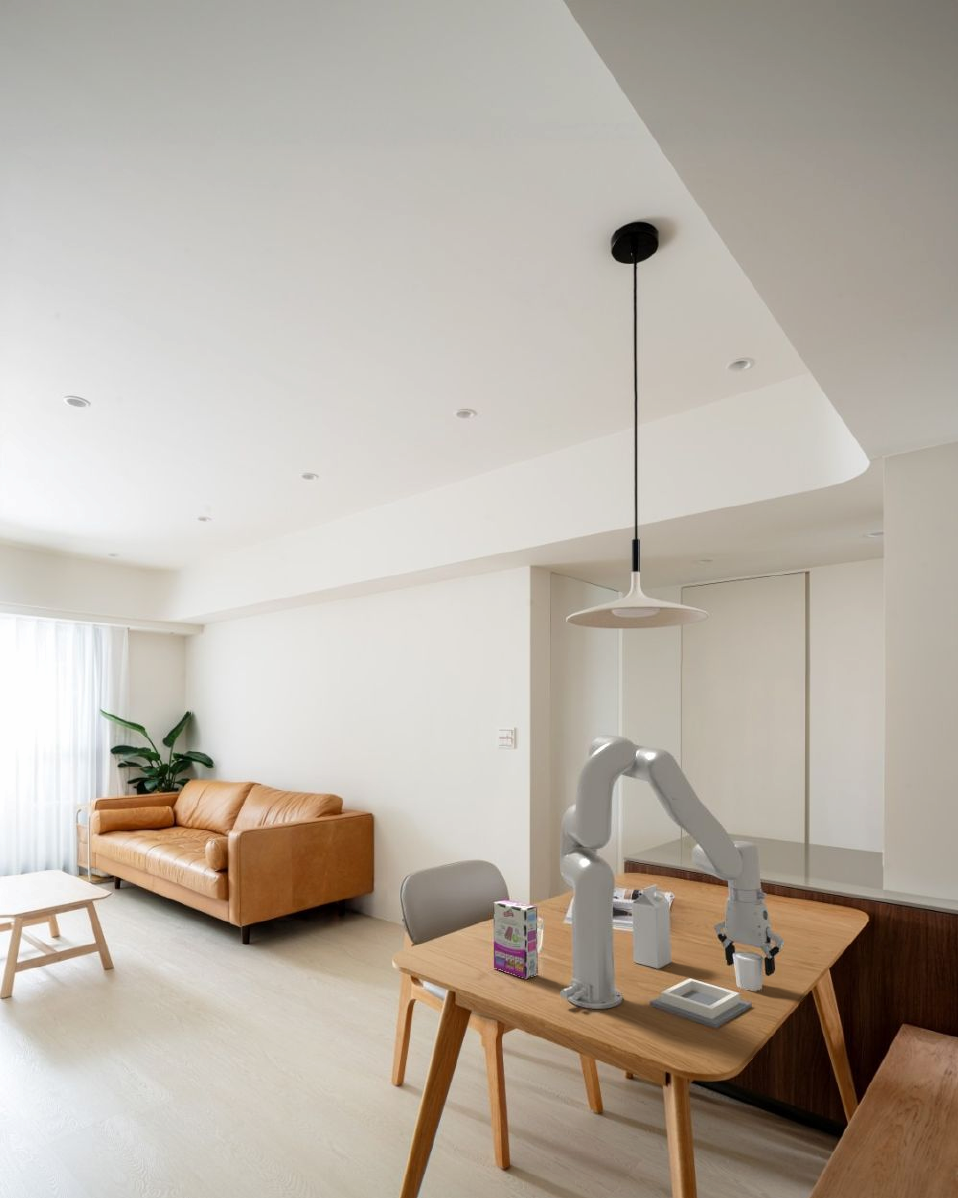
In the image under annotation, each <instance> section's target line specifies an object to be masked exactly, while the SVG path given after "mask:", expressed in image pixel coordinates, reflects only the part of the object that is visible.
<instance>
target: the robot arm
mask: <svg viewBox="0 0 958 1198" xmlns="http://www.w3.org/2000/svg"><path fill="white" fill-rule="evenodd" d="M588 755H589V757H588V758H587V760H586V761H585V762H584V764H583V766H582V768H581V769H580V772H579V775H578V779H577V786H576V787H577V788H576V796H575V797H576V798H575V803H574V804H572V805H571V806H569V807H568V809H567V810H566V811H565V813H564V814H563V817H562V820H561V826H560V827H561V828H560V845H559V869H560V874H561V877H562V878H563V880H564V882H565V883H566V884H567V885H569V886H570V888H572V889H573V899H572V906H571V945H572V948H571V949H572V953H571V954H572V955H571V956H572V978H571V979H570V984H569V986H568V987H565V988H563V989H561V990H560V993H559V995H560V997H561V998H562V999H563V1000H566V999H567V1001H569V1002H570V1003H572V1004H573V1005H576V1006H578V1007H581V1008H585V1009H593V1010H602V1009H604V1010H605V1009H611V1008H615V1007H616V1006H618V1005H620V1004H621V1003H622V1001H623V996H622V992H621V991H620V990H619V989H618V988H616V986H615V985H616V983H615V982H616V981H615V979H616V978H615V950H614V949H615V948H614V942H615V941H614V917H613V915H614V909H613V908H614V896H615V892H616V891H615V889H616V878H615V875H614V874H615V873H614V871H613V869H612V867H611V865H610V864H609V863H608V862H607V861H606V860H605V859H604V858H602V857H601V856H599V855H598V850H600V849H603V848H604V847H606V846H607V845H608V844H609V842H610V840H611V837H612V827H613V825H612V818H613V815H612V814H613V813H612V812H613V797H614V795H613V794H614V788H615V785H616V782H617V781H618V779H619V778H620V777H621V776H625V777H629V778H633V779H636V780H641V781H645V782H648V784H649V785H650V788H651V789H652V791H653V792H654V794H655V796H656V797H657V799H658V801H659V802H660V804H661V806H662V807H663V809H664V811H665V813H666V814H667V816H668V817H669V819H671V821H672V822H673V823H675V824H676V825H677V826H678V827H679V828H681V829H682V830H683V831H684V832H686V833H687V834H688V835H689V836H690V837H691V838H692V839H693V840H694V841H695V842H696V844H695V846H694V847H693V848H692V850H691V858H692V862H693V864H694V865H695V866H696V868H698V869H699V870H700V871H702V872H704V873H706V874H708V875H710V876H714V877H716V878H718V879H720V880H722V881H727V885H728V897H727V898H726V902H725V911H724V913H725V915H724V921H722V922H719V923H717V924H715V925H713V929H714V931H715V934H716V935H717V938H718V939H719V941H720V943H722V947H723V948H724V952H725V960H726V965H727V966H732V965H734V960H733V953H735V952H736V947H735V945H733V944H734V943H737V944H741V945H745V946H750V947H754V948H759V949H760V950H761V951H762V953H763V954H764V955H765V957H763V963H764V972H765V976H767V977H770V976H772V975H773V974H774V973H775V971H776V960H775V956H777V954H778V953H779V952H781V950H782V948H783V945H784V944H785V940H784V938H783V937H781V936H780V935H778V934H777V933H775V931H773V930H772V924H771V919H770V914H769V910H768V906H767V903H766V901H764V900H766V899H768V896H767V893H765V892H764V891H763V889H762V884H761V872H760V858H759V856H760V855H759V847H758V845H757V844H755V843H754V842H751V841H747V840H732V838H731V836H730V835H729V833H728V831H727V830H726V829H725V827H723V825H722V824H721V822H720V821H719V820H718V819H717V818H716V817H715V816H714V815H713V814H712V812H711V811H710V810H709V808H708V807H706V805H705V804H704V803H703V802H702V801H701V800H700V799H699V797H698V795H697V794H696V792H695V790H694V789H693V787H692V786H691V784H690V782H689V780H688V779H687V777H686V775H685V773H684V772H683V770H682V768H681V767H680V765H679V763H678V762H677V760H676V759H675V758H674V757H675V756H673V754H671V752H669V751H668V750H665V749H661V748H655V747H648V746H644V745H638V744H635V743H634V742H633V741H632V740H630V739H629V738H627V737H624V736H619V735H600V736H598V737H595V738H594V739H593V740H592V741H591V743H590V744H589V748H588ZM763 899H764V900H763ZM723 929H724V930H725V933H724V931H723ZM773 942H775V943H774V947H773V946H772V943H773Z"/></svg>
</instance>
